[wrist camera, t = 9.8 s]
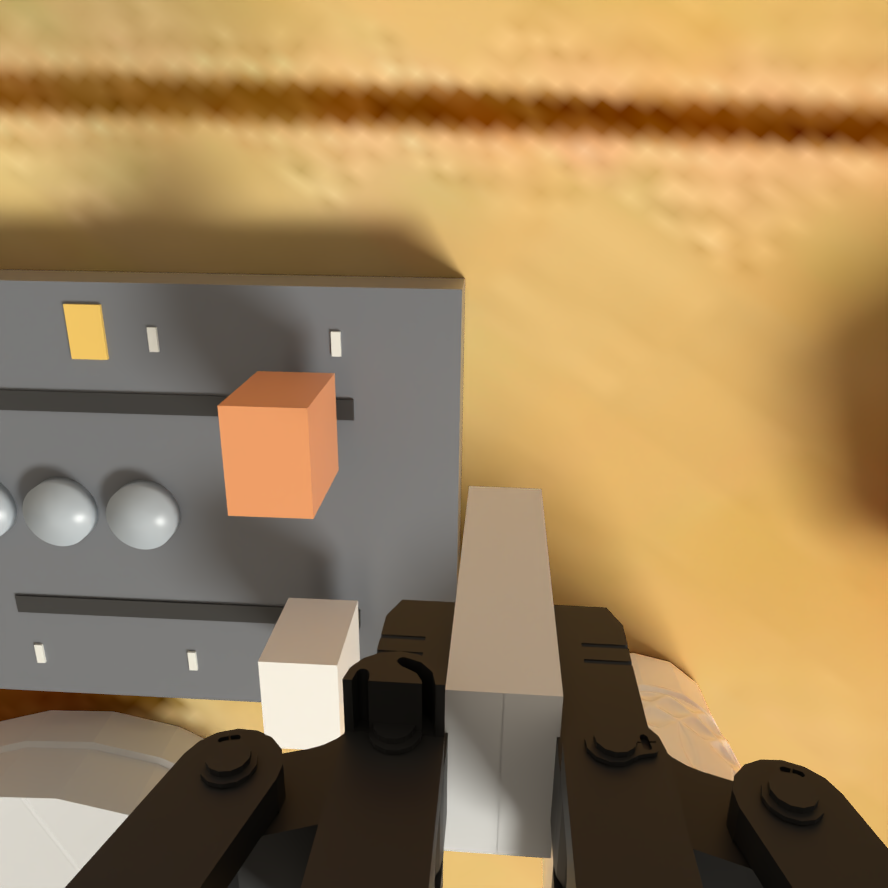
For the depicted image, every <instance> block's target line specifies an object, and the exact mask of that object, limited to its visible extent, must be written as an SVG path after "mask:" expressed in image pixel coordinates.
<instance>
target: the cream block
mask: <svg viewBox="0 0 888 888" xmlns="http://www.w3.org/2000/svg"><path fill="white" fill-rule="evenodd" d="M358 661H360V649H359V619H358V601H353V600H330V599H307V598H288V600H287V602H286V604H285V606H284V608H283V611H282V613H281V615H280V617H279V619H278V621H277V623H276V625H275V627H274V629H273V631H272V633H271V636H270V638H269V640H268V642H267V644H266V646H265V648H264V650H263V652H262V654H261V656H260V658H259V661H258V668H259V679H260V691H261V702H262V713H263V725H264V734H266V735H268V736H270V737H272V738H273V739H274V740H275V741H276V743H277V744H278V745H279V746H280V748H286V749H310V748H314V747H317V746H321V745H324V744H326V743H328V742H330V741H333V740H335V739H337V738H338V737H340V736H341V735H342V734H344V732H345V727H344V704H343V682H342V679H343V677H344V676H345V674H346V673H347V671H348V670H349V668H350V667H351V666H353V665H354V664H355V663H357V662H358Z"/></svg>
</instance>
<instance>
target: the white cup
mask: <svg viewBox="0 0 888 888" xmlns="http://www.w3.org/2000/svg"><path fill="white" fill-rule="evenodd" d="M630 657H631V661H632V666H633V669H634V673H635V677H636V681H637V685H638V689H639V693H640V697H641V701H642V705H643V709H644V713H645V717H646V721H647V725H648V727H649V728H650V729H651V730H652V731H653V732H654V733H655V734H657V735H658V736H659V737H660V739H661V741H662V743H663V745H664V747H665V749H666V750H667V753H668V754H669V755H670V756H672V757H673V758H675V759H676V760H678V761H680V762H682V763H683V764H685V765H687V766H689V767H692V768H694V769H697V770H700V771H702V772H705V773H709V774H712V775H715V776H718V777H722V778H725V779H728V780H732V781H733V780H734V775H735V774H736V773H737V772H738V771H739V770H740V769H741V766H740V764H739V762H738V760H737V758H736V756H735V754H734V753H733V751H732V749H731V747H730V745H729V742H728V740H727V739H725V737H724V736H723V735H722V733H721V732H720V730H719V728H718V726H717V724H716V722H715V720H714V719H713V717H712V715H711V712H710V710H709V708H708V706H707V704H706V701H705V699H704V697H703V695H702V692H701V690H700V688H699V686H698V684H697V683H696V682H695V681H693V680H692V679H691V678H690V677H688V676H687V675H686V674H685V673H683V672H682V671H681V670H679V669H678V668H677V667H676V666H674V665H673V664H672V663H671V662H668V661H664V660H660V659H656V658H652V657H648V656H645V655H641V654H637V653H630ZM552 873H553V852H552V849H551V858H542V888H551V886H552Z"/></svg>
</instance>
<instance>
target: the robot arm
mask: <svg viewBox="0 0 888 888" xmlns="http://www.w3.org/2000/svg"><path fill="white" fill-rule="evenodd" d="M342 682H343V704H344V727H345V732H344V734H342V735H341V736H340V737H338V738H337V739H335V740H333V741H330V742H328V743H326V744H324V745H321V746H317V747H314V748H310V749H305V750H300V751H294V752H289V753H283V754H282V749H281V748H280V746H279V745H278V744H277V743H276V741H275V740H274V739H273V738H272V737H270V736H268V735H266V734H264V733H261V732H259V731H256V730H245V729H235V730H229V731H224V732H218V733H216V734H214V735H212V736H209V737H207V738H205V739H203V740H200V741H199V742H197V743H196V744H195V745H194V746H193V747H191V748H190V749H189V750H188V751H187V752H185V753H184V754H183V755H182V756H181V758H180V759H179V760H178V761H177V762H176V763H175V764H174V765H173V767H172V768H171V769H170V770H169V771H168V772H167V773H166V774H165V776H164V777H163V778H162V779H161V780H160V781H159V782H158V783H157V784H156V786H155V787H154V788H153V789H152V790H151V791H150V792H149V793H148V795H147V796H146V797H145V798H144V799H143V800H142V801H141V802H140V804H139V805H138V806H137V807H136V808H135V809H134V810H133V811H132V813H131V814H130V815H129V816H128V817H127V818H126V819H125V820H124V822H123V823H122V824H121V825H120V826H119V827H118V828H117V829H116V831H115V832H114V833H113V834H112V835H111V836H110V837H109V838H108V840H107V841H106V842H105V843H104V844H103V845H102V846H101V847H100V848H99V850H98V851H97V852H96V853H95V854H94V855H93V856H92V857H91V859H90V860H89V861H88V862H87V863H86V864H85V865H84V866H83V868H82V869H81V870H80V871H79V872H78V873H77V874H76V875H75V877H74V878H73V879H72V880H71V881H70V882H69V883H68V884H67V886H66V887H65V888H442V887H443V852H444V851H457V852H471V853H485V854H499V855H512V856H526V857H540V858H551V849H552V852H553V873H552V886H551V888H888V848H887V847H886V846H885V845H884V843H883V842H882V841H881V840H880V839H879V837H878V836H877V835H876V834H875V833H874V831H873V830H872V829H871V828H870V827H869V825H868V824H867V823H866V822H865V821H864V819H863V818H862V817H861V816H860V815H859V813H858V812H857V811H856V810H855V809H854V807H853V806H852V805H851V804H850V803H849V801H848V800H847V799H846V798H845V797H844V795H843V794H842V793H841V792H840V791H838V790H837V789H836V788H835V787H834V786H833V785H832V784H831V783H830V782H829V781H827V780H826V779H825V778H823V777H822V776H820V775H818V774H816V773H814V772H813V771H811V770H809V769H807V768H805V767H803V766H799V765H796V764H793V763H789V762H786V761H782V760H758V761H755V762H752V763H748V764H745V765H744V766H743V767H742V768H741V769H740V770H739V771H738V772H737V773H736V774H735V775H734V780H733V781H732V780H728V779H725V778H722V777H718V776H715V775H712V774H709V773H705V772H702V771H700V770H697V769H694V768H692V767H689V766H687V765H685V764H683V763H682V762H680V761H678V760H676V759H675V758H673V757H672V756H670V755H669V754H668V753H667V750H666V749H665V747H664V745H663V743H662V741H661V739H660V737H659V736H658V735H657V734H655V733H654V732H653V731H652V730H651V729H650V728H649V727H648V725H647V721H646V717H645V713H644V709H643V705H642V701H641V697H640V693H639V689H638V685H637V681H636V677H635V673H634V669H633V666H632V661H631V657H630V653H629V649H628V645H627V641H626V637H625V633H624V629H623V625H622V624H621V623H620V622H619V621H618V620H617V619H616V618H615V617H614V616H613V615H612V613H611V612H610V611H609V610H608V609H607V608H603V607H583V606H563V605H554V604H553V594H552V585H551V575H550V566H549V556H548V547H547V537H546V528H545V518H544V509H543V499H542V490H541V489H531V488H506V487H481V486H469V491H468V500H467V508H466V517H465V525H464V534H463V542H462V551H461V560H460V568H459V577H458V585H457V594H456V602H442V601H422V600H401V601H400V602H399V603H398V604H397V605H396V606H395V607H394V608H393V609H392V610H391V611H390V612H389V613H388V614H387V615H386V618H385V622H384V625H383V629H382V633H381V638H380V640H379V644H378V648H377V654H374V655H371V656H368V657H365V658H363V659H361V660H360V661H358V662H357V663H355V664H354V665H353V666H351V667H350V668H349V670H348V671H347V673H346V674H345V676H344V677H343V679H342Z"/></svg>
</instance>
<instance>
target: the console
mask: <svg viewBox="0 0 888 888" xmlns="http://www.w3.org/2000/svg"><path fill="white" fill-rule="evenodd" d="M464 314H465V278H425V277H373V276H320V275H267V274H215V273H162V272H110V271H57V270H4V269H0V689H16V690H36V691H55V692H74V693H94V694H113V695H132V696H152V697H171V698H191V699H210V700H229V701H249V702H261V691H260V679H259V668H258V661H259V658H260V656H261V654H262V652H263V650H264V648H265V646H266V644H267V642H268V640H269V638H270V636H271V633H272V631H273V629H274V627H275V625H276V623H277V621H278V619H279V617H280V615H281V613H282V611H283V608H284V606H285V604H286V602H287V600H288V598H307V599H330V600H353V601H358V619H359V649H360V660H361V659H363V658H365V657H368V656H371V655H374V654H377V648H378V644H379V640H380V638H381V633H382V629H383V625H384V622H385V618H386V615H387V614H388V613H389V612H390V611H391V610H392V609H393V608H394V607H395V606H396V605H397V604H398V603H399V602H400V601H401V600H422V601H442V602H456V594H457V585H458V577H459V568H460V523H461V471H462V419H463V367H464ZM257 371H272V372H310V373H335V393H336V418H337V442H338V467H339V470H338V472H337V474H336V476H335V478H334V480H333V482H332V484H331V486H330V488H329V490H328V492H327V494H326V495H325V497H324V499H323V501H322V503H321V505H320V507H319V509H318V511H317V513H316V515H315V517H314V519H301V518H275V517H248V516H228V510H227V499H226V489H225V479H224V468H223V458H222V448H221V437H220V427H219V417H218V405H219V404H220V403H221V402H222V401H224V400H225V399H226V398H227V397H228V396H229V395H230V394H232V393H233V392H234V391H235V390H236V389H237V388H239V387H240V386H241V385H242V384H243V383H244V382H246V381H247V380H248V379H249V378H250V377H251V376H252V375H254V374H255V373H256V372H257Z"/></svg>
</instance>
